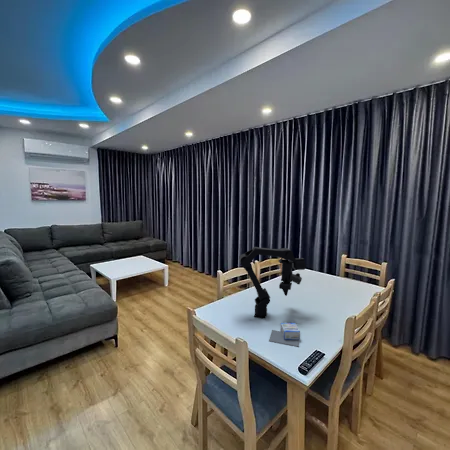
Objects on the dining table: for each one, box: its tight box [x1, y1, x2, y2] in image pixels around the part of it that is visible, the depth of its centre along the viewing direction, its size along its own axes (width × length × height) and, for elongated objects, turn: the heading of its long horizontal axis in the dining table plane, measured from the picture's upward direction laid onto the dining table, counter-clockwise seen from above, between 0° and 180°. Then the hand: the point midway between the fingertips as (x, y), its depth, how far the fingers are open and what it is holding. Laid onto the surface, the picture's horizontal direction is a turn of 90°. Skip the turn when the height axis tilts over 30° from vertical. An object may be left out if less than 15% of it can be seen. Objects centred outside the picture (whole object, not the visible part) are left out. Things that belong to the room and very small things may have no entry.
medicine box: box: [279, 322, 301, 341], centre depth 122 cm, size 8×4×9 cm
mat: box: [268, 329, 300, 348], centre depth 120 cm, size 14×10×1 cm
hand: (286, 295), depth 143 cm, fingers closed
